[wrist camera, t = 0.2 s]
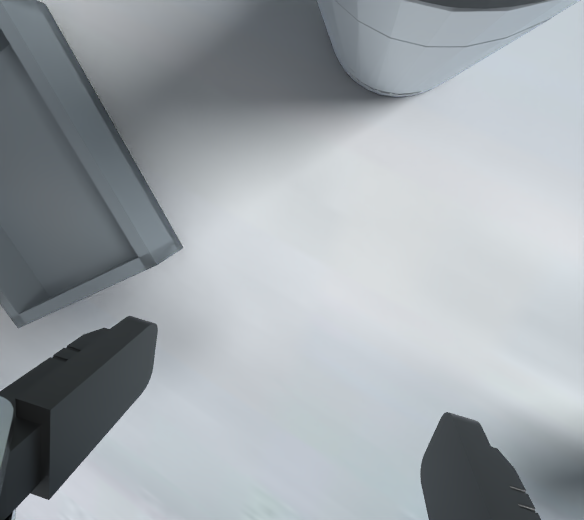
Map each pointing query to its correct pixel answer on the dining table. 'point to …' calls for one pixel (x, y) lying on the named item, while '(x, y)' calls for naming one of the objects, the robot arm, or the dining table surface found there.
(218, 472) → the dining table surface
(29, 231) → the tray
